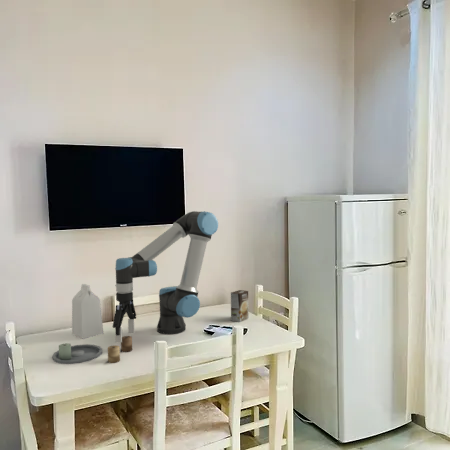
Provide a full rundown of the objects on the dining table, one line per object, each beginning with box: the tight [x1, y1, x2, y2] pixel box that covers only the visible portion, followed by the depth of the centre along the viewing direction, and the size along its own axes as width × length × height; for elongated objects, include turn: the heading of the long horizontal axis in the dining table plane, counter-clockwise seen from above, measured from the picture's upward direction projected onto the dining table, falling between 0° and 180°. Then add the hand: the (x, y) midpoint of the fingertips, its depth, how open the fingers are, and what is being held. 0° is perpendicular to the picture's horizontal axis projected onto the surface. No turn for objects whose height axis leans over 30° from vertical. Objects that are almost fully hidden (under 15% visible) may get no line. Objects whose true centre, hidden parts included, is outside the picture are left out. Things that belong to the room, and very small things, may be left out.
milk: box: [71, 283, 104, 340], centre depth 223 cm, size 12×12×26 cm
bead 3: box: [120, 335, 133, 353], centre depth 198 cm, size 5×5×6 cm
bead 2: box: [107, 345, 121, 364], centre depth 185 cm, size 5×5×6 cm
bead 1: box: [58, 342, 72, 360], centre depth 187 cm, size 5×5×6 cm
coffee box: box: [230, 289, 250, 323], centre depth 244 cm, size 9×6×16 cm
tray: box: [51, 343, 103, 365], centre depth 192 cm, size 21×21×2 cm
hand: (125, 337), depth 197 cm, fingers open, 13 cm apart
